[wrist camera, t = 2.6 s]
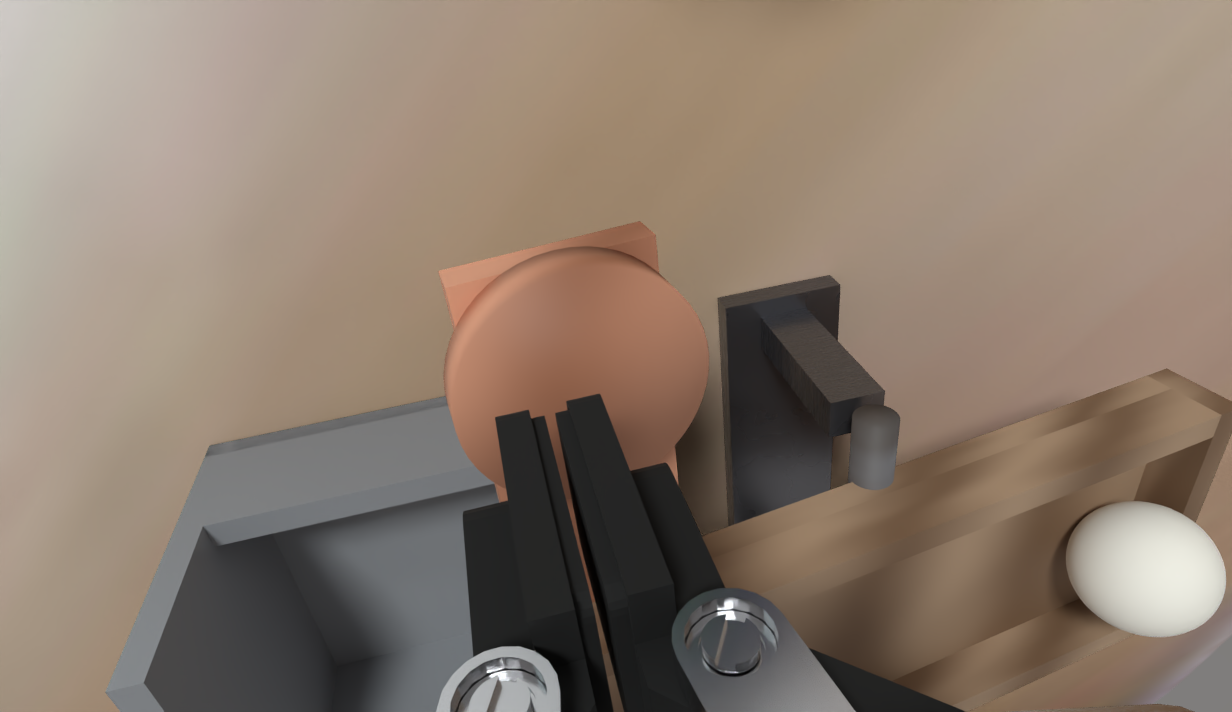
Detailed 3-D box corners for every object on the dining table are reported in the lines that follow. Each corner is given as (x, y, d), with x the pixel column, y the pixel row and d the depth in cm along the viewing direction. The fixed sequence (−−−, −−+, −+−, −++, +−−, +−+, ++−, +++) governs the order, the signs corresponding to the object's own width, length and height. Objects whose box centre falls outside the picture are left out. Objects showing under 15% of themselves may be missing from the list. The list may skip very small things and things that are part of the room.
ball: (1133, 457, 24) (1277, 532, 21) (1104, 545, 26) (1231, 625, 23) (1050, 508, 23) (1191, 596, 20) (1027, 597, 25) (1151, 689, 22)
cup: (564, 371, 25) (620, 566, 18) (605, 601, 31) (660, 819, 24) (209, 445, 24) (105, 692, 16) (324, 670, 30) (287, 926, 22)
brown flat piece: (1244, 54, 19) (1377, 72, 17) (1073, 603, 30) (1139, 661, 28) (404, 256, 14) (424, 321, 12) (568, 825, 25) (595, 919, 23)
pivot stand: (829, 275, 26) (927, 364, 20) (817, 573, 33) (885, 691, 28) (717, 297, 25) (789, 394, 20) (731, 595, 33) (785, 718, 28)
